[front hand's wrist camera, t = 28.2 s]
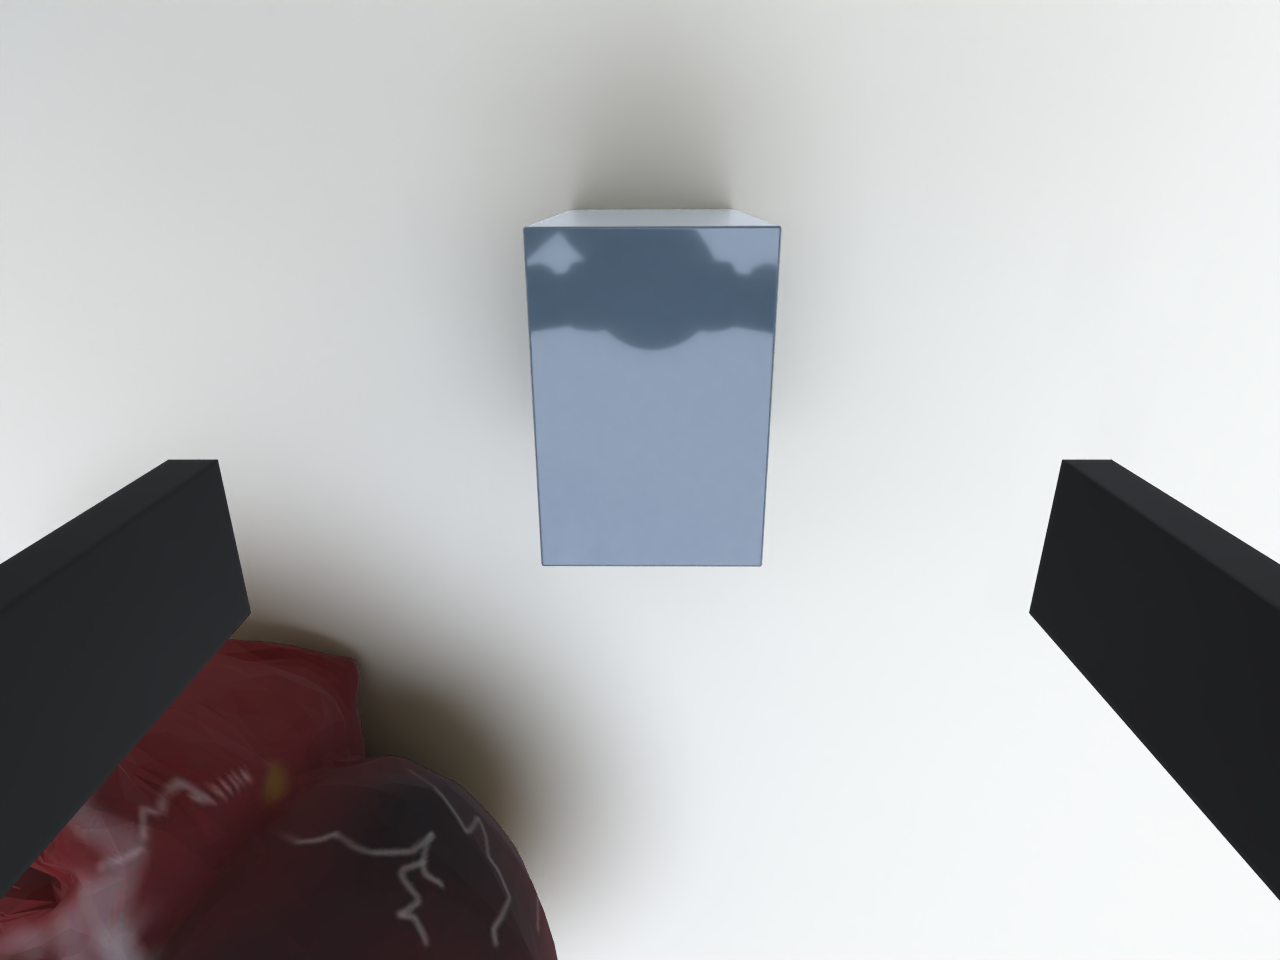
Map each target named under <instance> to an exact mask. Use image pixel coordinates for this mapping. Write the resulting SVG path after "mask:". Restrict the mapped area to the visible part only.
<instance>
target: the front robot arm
mask: <svg viewBox="0 0 1280 960" xmlns="http://www.w3.org/2000/svg"><path fill="white" fill-rule="evenodd" d="M250 613H251V611H250V606H249V602H248V597H247V593H246V588H245V583H244V579H243V574H242V569H241V565H240V560H239V556H238V551H237V546H236V542H235V537H234V532H233V528H232V523H231V519H230V514H229V509H228V505H227V500H226V495H225V491H224V486H223V482H222V477H221V472H220V468H219V463H218V460H167V461H166V462H164V463H162V464H161V465H159V466H158V467H156V468H154V469H153V470H151V471H149V472H148V473H146V474H145V475H143V476H141V477H140V478H138V479H137V480H135V481H133V482H132V483H130V484H129V485H127V486H125V487H124V488H122V489H121V490H119V491H117V492H116V493H114V494H112V495H111V496H109V497H108V498H106V499H104V500H103V501H101V502H100V503H98V504H96V505H95V506H93V507H92V508H90V509H88V510H87V511H85V512H84V513H82V514H80V515H79V516H77V517H76V518H74V519H72V520H71V521H69V522H67V523H66V524H64V525H63V526H61V527H59V528H58V529H56V530H55V531H53V532H51V533H50V534H48V535H47V536H45V537H43V538H42V539H40V540H39V541H37V542H35V543H34V544H32V545H30V546H29V547H27V548H26V549H24V550H22V551H21V552H19V553H18V554H16V555H14V556H13V557H11V558H10V559H8V560H6V561H5V562H3V563H2V564H0V900H1V899H2V898H3V897H4V896H5V894H6V893H7V892H8V891H9V890H10V889H11V888H12V886H13V885H14V884H15V883H16V882H17V881H18V880H19V878H20V877H21V876H22V875H23V874H24V873H25V872H26V870H27V869H28V868H29V867H30V866H31V865H32V863H33V862H34V861H35V860H36V859H37V858H38V857H39V855H40V854H41V853H42V852H43V851H44V850H45V849H46V847H47V846H48V845H49V844H50V843H51V842H52V841H53V839H54V838H55V837H56V836H57V835H58V834H59V833H60V831H61V830H62V829H63V828H64V827H65V826H66V824H67V823H68V822H69V821H70V820H71V819H72V818H73V816H74V815H75V814H76V813H77V812H78V811H79V810H80V808H81V807H82V806H83V805H84V804H85V803H86V802H87V800H88V799H89V798H90V797H91V796H92V795H93V793H94V792H95V791H96V790H97V789H98V788H99V787H100V785H101V784H102V783H103V782H104V781H105V780H106V779H107V777H108V776H109V775H110V774H111V773H112V772H113V771H114V769H115V768H116V767H117V766H118V765H119V764H120V763H121V761H122V760H123V759H124V758H125V757H126V756H127V754H128V753H129V752H130V751H131V750H132V749H133V748H134V746H135V745H136V744H137V743H138V742H139V741H140V740H141V738H142V737H143V736H144V735H145V734H146V733H147V732H148V730H149V729H150V728H151V727H152V726H153V725H154V724H155V722H156V721H157V720H158V719H159V718H160V717H161V715H162V714H163V713H164V712H165V711H166V710H167V709H168V707H169V706H170V705H171V704H172V703H173V702H174V701H175V699H176V698H177V697H178V696H179V695H180V694H181V693H182V691H183V690H184V689H185V688H186V687H187V686H188V684H189V683H190V682H191V681H192V680H193V679H194V678H195V676H196V675H197V674H198V673H199V672H200V671H201V670H202V668H203V667H204V666H205V665H206V664H207V663H208V662H209V660H210V659H211V658H212V657H213V656H214V655H215V654H216V652H217V651H218V650H219V649H220V648H221V647H222V645H223V644H224V643H225V642H226V641H227V640H228V639H229V637H230V636H231V635H232V634H233V633H234V632H235V631H236V629H237V628H238V627H239V626H240V625H241V624H242V623H243V621H244V620H245V619H246V618H247V617H248V616H249V615H250ZM1029 613H1030V615H1031V616H1032V617H1033V618H1034V619H1035V620H1036V621H1037V623H1038V624H1039V625H1040V626H1041V627H1042V628H1043V629H1044V631H1045V632H1046V633H1047V634H1048V635H1049V636H1050V637H1051V639H1052V640H1053V641H1054V642H1055V643H1056V644H1057V645H1058V647H1059V648H1060V649H1061V650H1062V651H1063V652H1064V654H1065V655H1066V656H1067V657H1068V658H1069V659H1070V660H1071V662H1072V663H1073V664H1074V665H1075V666H1076V667H1077V668H1078V670H1079V671H1080V672H1081V673H1082V674H1083V675H1084V676H1085V678H1086V679H1087V680H1088V681H1089V682H1090V683H1091V684H1092V686H1093V687H1094V688H1095V689H1096V690H1097V691H1098V693H1099V694H1100V695H1101V696H1102V697H1103V698H1104V699H1105V701H1106V702H1107V703H1108V704H1109V705H1110V706H1111V707H1112V709H1113V710H1114V711H1115V712H1116V713H1117V714H1118V715H1119V717H1120V718H1121V719H1122V720H1123V721H1124V722H1125V724H1126V725H1127V726H1128V727H1129V728H1130V729H1131V730H1132V732H1133V733H1134V734H1135V735H1136V736H1137V737H1138V738H1139V740H1140V741H1141V742H1142V743H1143V744H1144V745H1145V746H1146V748H1147V749H1148V750H1149V751H1150V752H1151V753H1152V754H1153V756H1154V757H1155V758H1156V759H1157V760H1158V761H1159V763H1160V764H1161V765H1162V766H1163V767H1164V768H1165V769H1166V771H1167V772H1168V773H1169V774H1170V775H1171V776H1172V777H1173V779H1174V780H1175V781H1176V782H1177V783H1178V784H1179V785H1180V787H1181V788H1182V789H1183V790H1184V791H1185V792H1186V793H1187V795H1188V796H1189V797H1190V798H1191V799H1192V800H1193V802H1194V803H1195V804H1196V805H1197V806H1198V807H1199V808H1200V810H1201V811H1202V812H1203V813H1204V814H1205V815H1206V816H1207V818H1208V819H1209V820H1210V821H1211V822H1212V823H1213V824H1214V826H1215V827H1216V828H1217V829H1218V830H1219V831H1220V833H1221V834H1222V835H1223V836H1224V837H1225V838H1226V839H1227V841H1228V842H1229V843H1230V844H1231V845H1232V846H1233V847H1234V849H1235V850H1236V851H1237V852H1238V853H1239V854H1240V855H1241V857H1242V858H1243V859H1244V860H1245V861H1246V862H1247V863H1248V865H1249V866H1250V867H1251V868H1252V869H1253V870H1254V872H1255V873H1256V874H1257V875H1258V876H1259V877H1260V878H1261V880H1262V881H1263V882H1264V883H1265V884H1266V885H1267V886H1268V888H1269V889H1270V890H1271V891H1272V892H1273V893H1274V894H1275V896H1276V897H1277V898H1278V899H1279V900H1280V564H1278V563H1277V562H1275V561H1274V560H1272V559H1270V558H1269V557H1267V556H1266V555H1264V554H1262V553H1261V552H1259V551H1258V550H1256V549H1254V548H1253V547H1251V546H1250V545H1248V544H1246V543H1245V542H1243V541H1241V540H1240V539H1238V538H1237V537H1235V536H1233V535H1232V534H1230V533H1229V532H1227V531H1225V530H1224V529H1222V528H1221V527H1219V526H1217V525H1216V524H1214V523H1213V522H1211V521H1209V520H1208V519H1206V518H1204V517H1203V516H1201V515H1200V514H1198V513H1196V512H1195V511H1193V510H1192V509H1190V508H1188V507H1187V506H1185V505H1184V504H1182V503H1180V502H1179V501H1177V500H1176V499H1174V498H1172V497H1171V496H1169V495H1167V494H1166V493H1164V492H1163V491H1161V490H1159V489H1158V488H1156V487H1155V486H1153V485H1151V484H1150V483H1148V482H1147V481H1145V480H1143V479H1142V478H1140V477H1139V476H1137V475H1135V474H1134V473H1132V472H1131V471H1129V470H1127V469H1126V468H1124V467H1122V466H1121V465H1119V464H1118V463H1116V462H1114V461H1113V460H1062V463H1061V468H1060V472H1059V477H1058V482H1057V486H1056V491H1055V495H1054V500H1053V505H1052V509H1051V514H1050V519H1049V523H1048V528H1047V532H1046V537H1045V542H1044V546H1043V551H1042V556H1041V560H1040V565H1039V569H1038V574H1037V579H1036V583H1035V588H1034V593H1033V597H1032V602H1031V606H1030V611H1029Z"/></svg>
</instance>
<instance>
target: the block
mask: <svg viewBox="0 0 1280 960" xmlns="http://www.w3.org/2000/svg"><path fill="white" fill-rule="evenodd" d="M781 229H782V228H781V226H779V225H776V224H773V223H770V222H767V221H765V220H762V219H759V218H756V217H753V216H751V215H748V214H745V213H742V212H739V211H737V210H734V209H602V210H569V211H566V212H564V213H561V214H558V215H556V216H553V217H550V218H547V219H545V220H542V221H539V222H537V223H534V224H531V225H528V226H526V227H524V228H523V240H524V258H525V276H526V294H527V312H528V330H529V348H530V366H531V384H532V401H533V419H534V437H535V455H536V473H537V491H538V509H539V527H540V545H541V563H542V565H543V566H761V565H762V557H763V539H764V522H765V505H766V488H767V470H768V453H769V436H770V419H771V402H772V384H773V367H774V350H775V333H776V316H777V298H778V281H779V264H780V247H781Z"/></svg>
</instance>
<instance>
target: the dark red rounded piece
mask: <svg viewBox="0 0 1280 960" xmlns="http://www.w3.org/2000/svg"><path fill="white" fill-rule="evenodd" d="M359 682H360V669H359V666H358V664H357V663H356V662H355V660H353V659H351V658H348V657H342V656H336V655H330V654H324V653H320V652H316V651H312V650H308V649H304V648H300V647H296V646H291V645H283V644H276V643H268V642H261V641H245V640H233V639H228V640H227V641H226V642H225V643H224V644H223V645H222V647H221V648H220V649H219V650H218V651H217V652H216V654H215V655H214V656H213V657H212V658H211V659H210V660H209V662H208V663H207V664H206V665H205V666H204V667H203V668H202V670H201V671H200V672H199V673H198V674H197V675H196V676H195V678H194V679H193V680H192V681H191V682H190V683H189V684H188V686H187V687H186V688H185V689H184V690H183V691H182V693H181V694H180V695H179V696H178V697H177V698H176V699H175V701H174V702H173V703H172V704H171V705H170V706H169V707H168V709H167V710H166V711H165V712H164V713H163V714H162V715H161V717H160V718H159V719H158V720H157V721H156V722H155V724H154V725H153V726H152V727H151V728H150V729H149V730H148V732H147V733H146V734H145V735H144V736H143V737H142V738H141V740H140V741H139V742H138V743H137V744H136V745H135V746H134V748H133V749H132V750H131V751H130V752H129V753H128V754H127V756H126V757H125V758H124V759H123V760H122V761H121V763H120V764H119V765H118V766H117V767H116V768H115V769H114V771H113V772H112V773H111V774H110V775H109V776H108V777H107V779H106V780H105V781H104V782H103V783H102V784H101V785H100V787H99V788H98V789H97V790H96V791H95V792H94V793H93V795H92V796H91V797H90V798H89V799H88V800H87V802H86V803H85V804H84V805H83V806H82V807H81V808H80V810H79V811H78V812H77V813H76V814H75V815H74V816H73V818H72V819H71V820H70V821H69V822H68V823H67V824H66V826H65V827H64V828H63V829H62V830H61V831H60V833H59V834H58V835H57V836H56V837H55V838H54V839H53V841H52V842H51V843H50V844H49V845H48V846H47V847H46V849H45V850H44V851H43V852H42V853H41V854H40V855H39V857H38V858H37V859H36V860H35V861H34V862H33V863H32V865H31V866H30V867H29V868H28V869H27V870H26V872H25V873H24V874H23V875H22V876H21V877H20V878H19V880H18V881H17V882H16V883H15V884H14V885H13V886H12V888H11V889H10V890H9V891H8V892H7V893H6V894H5V896H4V897H3V898H2V899H1V900H0V960H557V955H556V950H555V945H554V941H553V938H552V935H551V932H550V929H549V925H548V922H547V919H546V916H545V913H544V910H543V908H542V905H541V903H540V900H539V898H538V896H537V893H536V891H535V888H534V886H533V883H532V881H531V879H530V877H529V875H528V873H527V870H526V868H525V865H524V863H523V861H522V859H521V857H520V855H519V853H518V851H517V849H516V847H515V846H514V844H513V843H512V842H511V840H510V839H509V837H508V836H507V835H506V833H505V832H504V831H503V829H502V828H501V827H500V826H499V824H498V823H497V822H496V821H495V820H494V818H493V817H492V816H491V815H490V814H489V813H488V812H487V811H486V810H485V809H484V808H483V807H482V806H481V805H480V804H479V803H478V802H477V801H476V800H475V799H474V798H473V797H472V796H471V795H470V794H469V793H468V792H467V791H466V790H465V789H464V788H463V787H462V786H461V785H459V784H458V783H457V782H454V781H452V780H450V779H447V778H445V777H442V776H440V775H438V774H436V773H434V772H432V771H430V770H428V769H426V768H424V767H422V766H420V765H419V764H417V763H415V762H413V761H410V760H408V759H405V758H400V757H394V756H389V755H388V756H378V757H369V758H365V742H364V736H363V732H362V727H361V722H360V717H359V713H358V708H357V706H358V693H359Z"/></svg>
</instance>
